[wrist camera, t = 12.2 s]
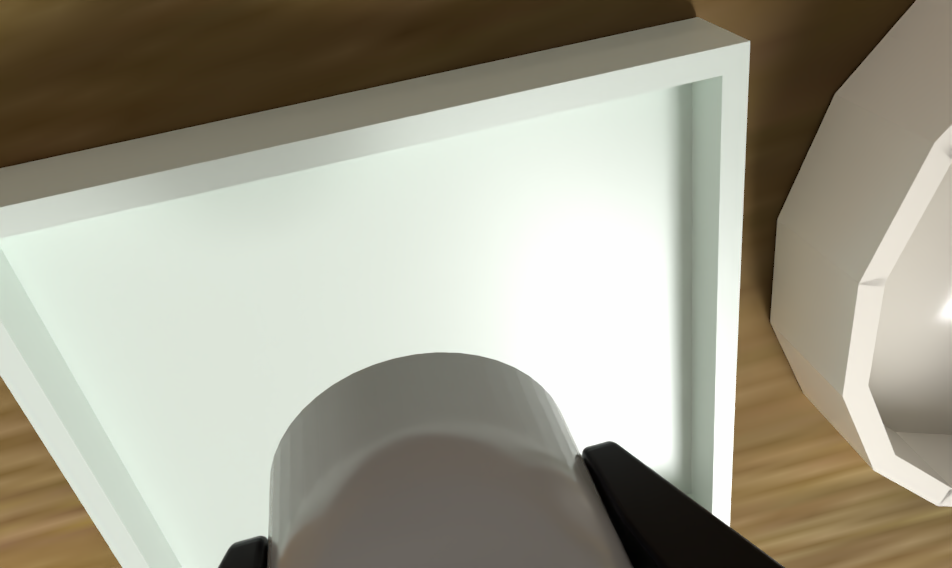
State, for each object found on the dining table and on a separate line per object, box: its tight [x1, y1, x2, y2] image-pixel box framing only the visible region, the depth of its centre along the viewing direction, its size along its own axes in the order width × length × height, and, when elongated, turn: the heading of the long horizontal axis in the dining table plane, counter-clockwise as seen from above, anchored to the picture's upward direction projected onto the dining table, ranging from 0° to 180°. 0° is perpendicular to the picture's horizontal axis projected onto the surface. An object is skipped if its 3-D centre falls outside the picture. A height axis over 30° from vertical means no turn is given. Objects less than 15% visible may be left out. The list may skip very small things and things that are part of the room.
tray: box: [0, 17, 750, 568], centre depth 17 cm, size 13×14×2 cm
